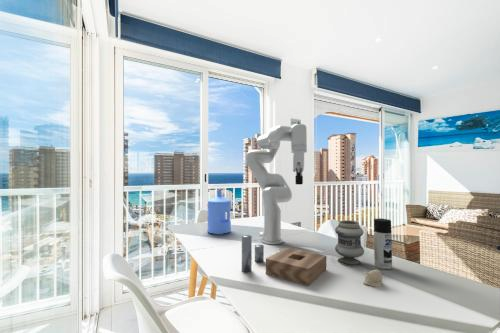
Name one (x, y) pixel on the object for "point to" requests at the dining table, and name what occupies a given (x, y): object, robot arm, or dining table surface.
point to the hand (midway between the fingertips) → (299, 183)
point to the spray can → (383, 243)
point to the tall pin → (246, 253)
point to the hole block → (296, 265)
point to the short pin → (259, 253)
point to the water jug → (219, 214)
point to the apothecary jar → (349, 242)
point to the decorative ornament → (373, 278)
